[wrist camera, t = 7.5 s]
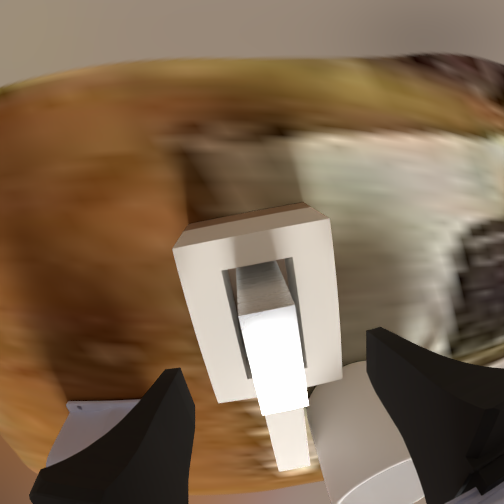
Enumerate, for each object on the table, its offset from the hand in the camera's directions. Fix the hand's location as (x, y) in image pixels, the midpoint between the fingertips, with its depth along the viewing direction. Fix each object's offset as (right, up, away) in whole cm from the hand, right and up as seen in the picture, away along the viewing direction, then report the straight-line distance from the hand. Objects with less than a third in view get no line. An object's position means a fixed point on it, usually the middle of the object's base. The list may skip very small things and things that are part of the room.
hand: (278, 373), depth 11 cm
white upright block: (0, +2, +7) cm, 7 cm away
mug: (+9, -7, +13) cm, 17 cm away
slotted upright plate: (0, -2, +10) cm, 10 cm away
